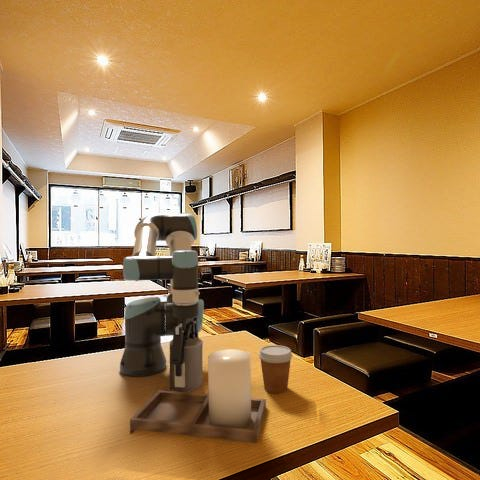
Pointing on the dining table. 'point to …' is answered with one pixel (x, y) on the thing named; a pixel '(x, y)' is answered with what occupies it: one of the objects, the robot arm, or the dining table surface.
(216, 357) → the ivory candle
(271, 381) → the disposable coffee cup
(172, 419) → the candle tray
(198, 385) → the pillar candle
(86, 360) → the dining table surface
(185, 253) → the robot arm
